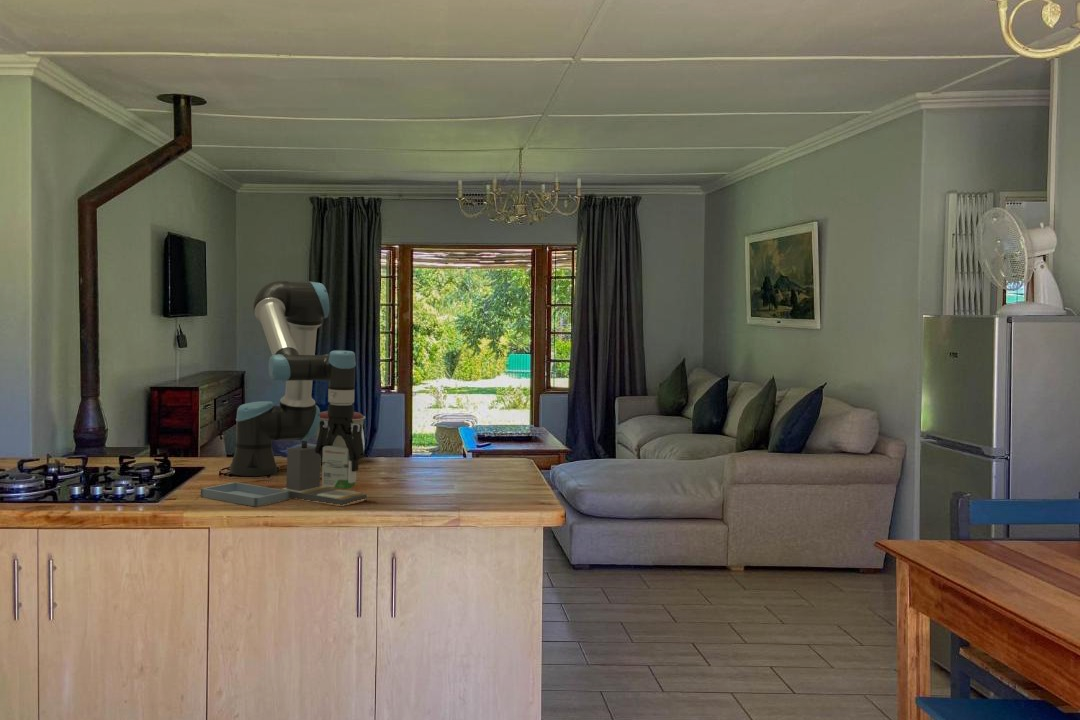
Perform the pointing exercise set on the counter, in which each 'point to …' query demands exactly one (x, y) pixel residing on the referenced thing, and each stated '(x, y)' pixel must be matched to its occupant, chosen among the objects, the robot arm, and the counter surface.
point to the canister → (339, 441)
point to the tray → (245, 494)
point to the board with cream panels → (327, 495)
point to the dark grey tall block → (303, 467)
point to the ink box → (336, 467)
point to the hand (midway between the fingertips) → (338, 480)
